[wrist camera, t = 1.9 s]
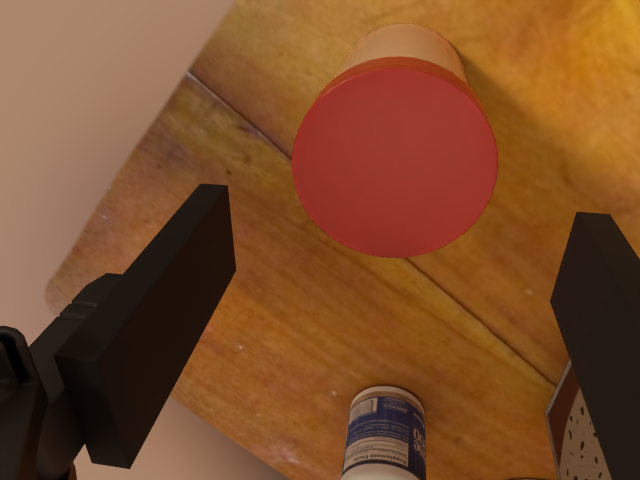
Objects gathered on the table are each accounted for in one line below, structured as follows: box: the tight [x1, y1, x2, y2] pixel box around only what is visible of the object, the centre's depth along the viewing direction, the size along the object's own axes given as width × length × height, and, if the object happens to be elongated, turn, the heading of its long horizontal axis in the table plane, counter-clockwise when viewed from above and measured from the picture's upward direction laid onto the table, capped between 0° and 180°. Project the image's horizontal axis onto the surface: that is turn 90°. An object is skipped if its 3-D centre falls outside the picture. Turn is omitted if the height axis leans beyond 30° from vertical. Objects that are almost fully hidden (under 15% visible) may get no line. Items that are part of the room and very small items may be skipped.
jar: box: [333, 23, 470, 88], centre depth 22 cm, size 6×6×10 cm
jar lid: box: [292, 56, 498, 258], centre depth 18 cm, size 7×7×2 cm
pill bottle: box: [341, 386, 426, 480], centre depth 34 cm, size 5×5×10 cm
